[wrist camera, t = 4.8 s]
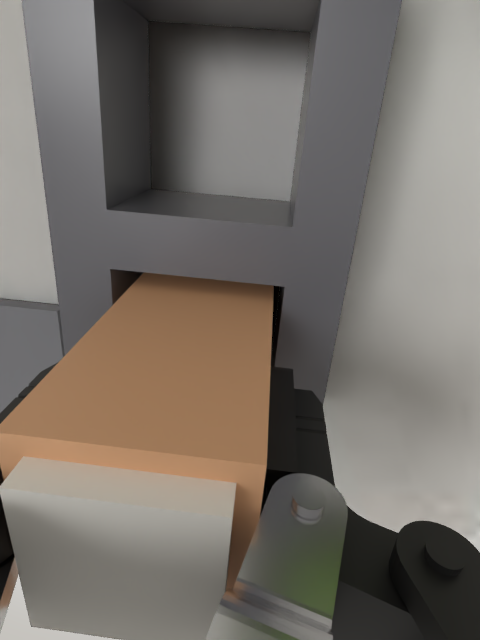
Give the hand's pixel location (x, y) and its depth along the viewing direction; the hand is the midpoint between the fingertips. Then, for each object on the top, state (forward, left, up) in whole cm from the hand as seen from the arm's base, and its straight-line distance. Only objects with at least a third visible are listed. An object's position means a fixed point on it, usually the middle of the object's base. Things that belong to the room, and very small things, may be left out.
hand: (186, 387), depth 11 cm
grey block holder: (0, +3, -6) cm, 7 cm away
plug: (0, 0, -5) cm, 5 cm away
